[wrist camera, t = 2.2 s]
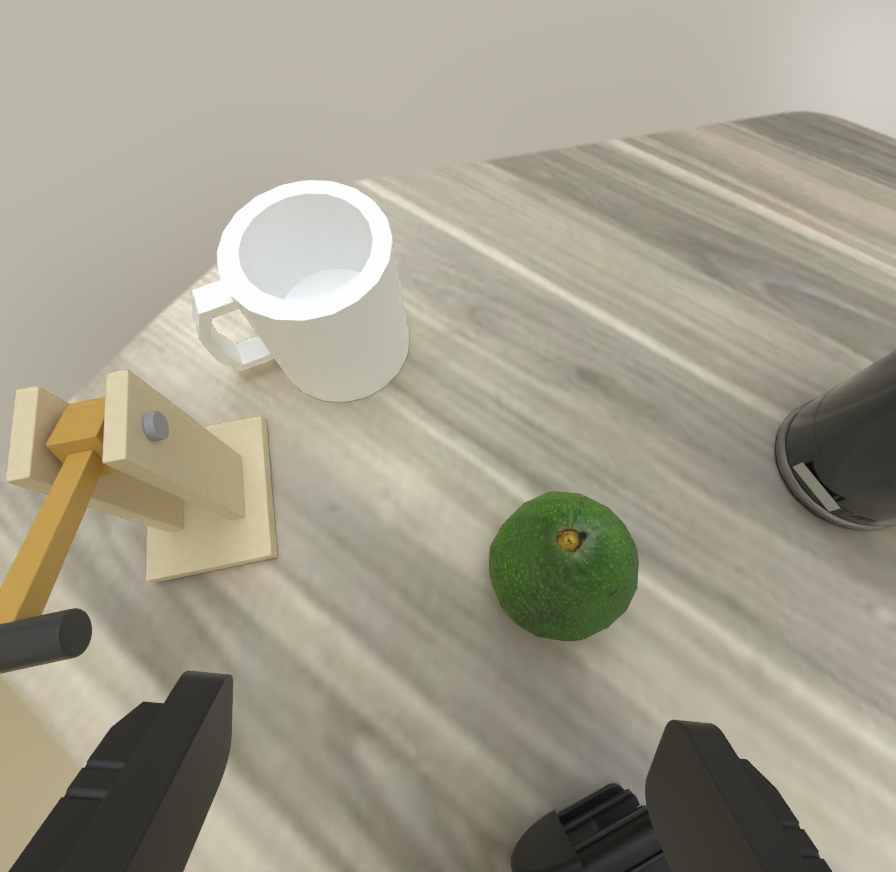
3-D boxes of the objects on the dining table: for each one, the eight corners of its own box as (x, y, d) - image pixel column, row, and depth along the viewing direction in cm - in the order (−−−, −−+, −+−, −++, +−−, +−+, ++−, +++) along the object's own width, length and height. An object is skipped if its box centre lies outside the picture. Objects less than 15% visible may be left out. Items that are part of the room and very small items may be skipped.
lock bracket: (277, 557, 33) (161, 515, 20) (156, 582, 33) (-43, 556, 20) (267, 421, 36) (161, 311, 24) (157, 442, 36) (-11, 342, 23)
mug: (257, 439, 36) (180, 370, 26) (223, 329, 39) (143, 230, 29) (429, 372, 38) (419, 282, 28) (382, 272, 41) (358, 160, 31)
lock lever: (91, 669, 17) (42, 640, 15) (-62, 702, 16) (-129, 676, 15) (170, 425, 25) (144, 389, 24) (70, 444, 25) (37, 409, 23)
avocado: (531, 491, 34) (567, 426, 23) (630, 563, 32) (721, 531, 21) (460, 585, 32) (462, 564, 21) (562, 668, 30) (623, 695, 19)
